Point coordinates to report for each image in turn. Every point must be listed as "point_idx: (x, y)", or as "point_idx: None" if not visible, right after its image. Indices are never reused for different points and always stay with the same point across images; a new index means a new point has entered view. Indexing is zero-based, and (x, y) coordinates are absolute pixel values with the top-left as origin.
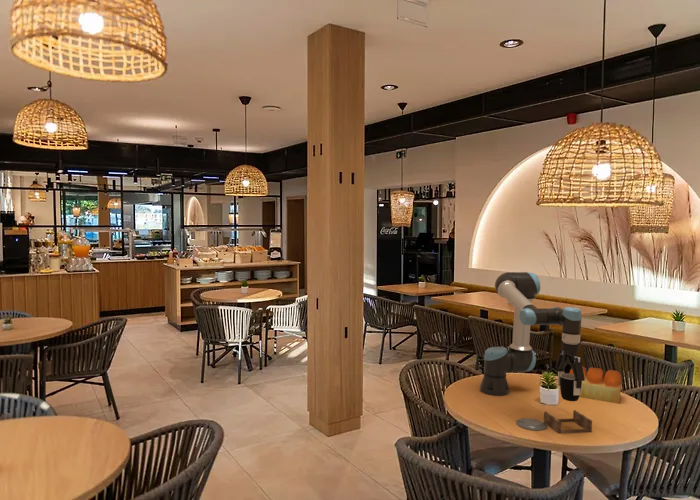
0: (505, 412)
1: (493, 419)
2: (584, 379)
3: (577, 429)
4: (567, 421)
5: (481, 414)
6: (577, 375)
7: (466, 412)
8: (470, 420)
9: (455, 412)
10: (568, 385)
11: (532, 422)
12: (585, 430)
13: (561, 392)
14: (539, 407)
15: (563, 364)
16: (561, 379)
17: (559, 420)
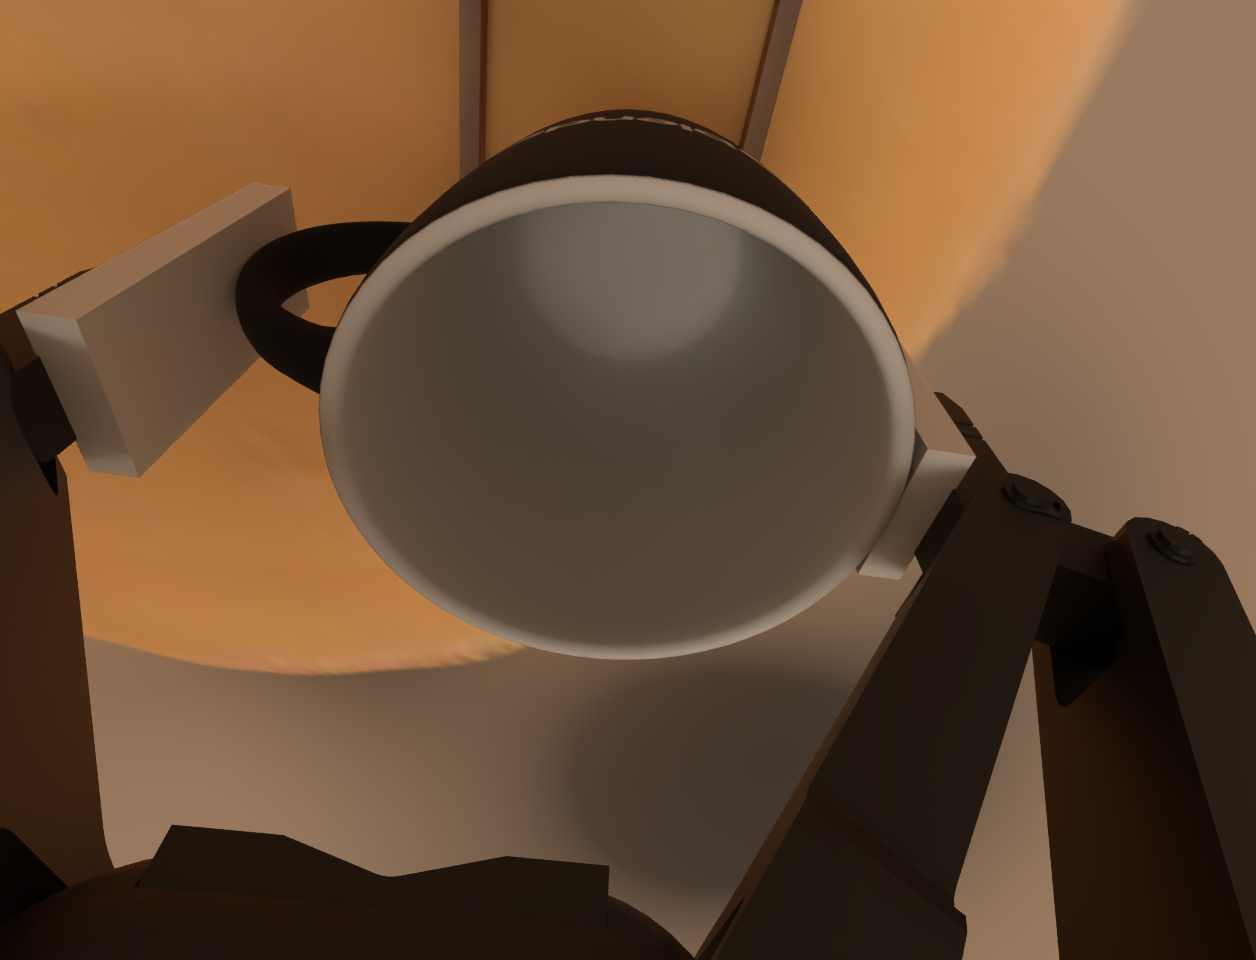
0: (241, 443)
1: (382, 568)
2: (1213, 563)
3: (753, 142)
4: (486, 21)
5: (295, 585)
6: (1051, 726)
7: (265, 632)
8: (392, 662)
9: (270, 671)
10: (743, 529)
11: None
12: (789, 42)
13: (591, 430)
14: (25, 34)
15: (68, 682)
16: (586, 615)
17: (480, 135)
